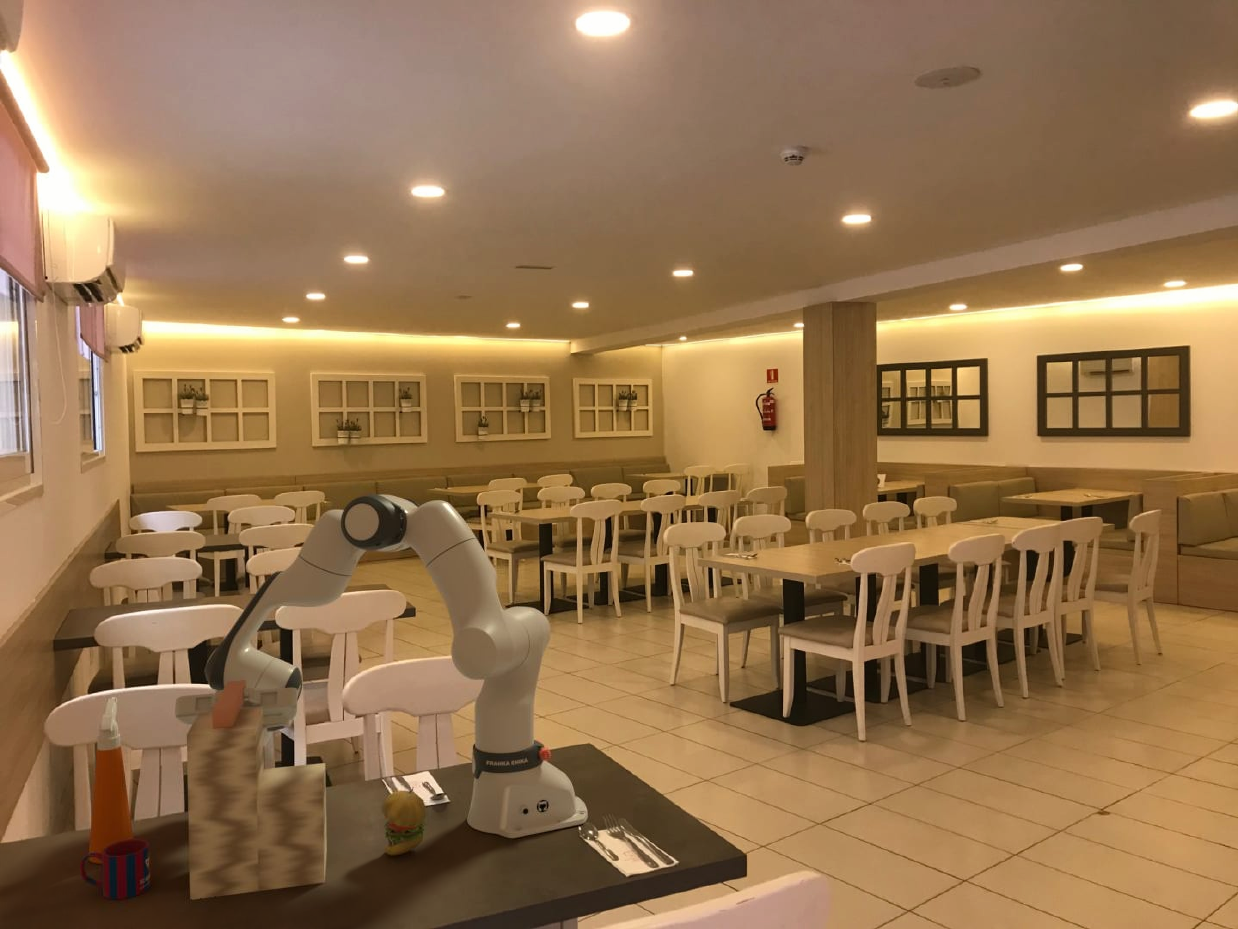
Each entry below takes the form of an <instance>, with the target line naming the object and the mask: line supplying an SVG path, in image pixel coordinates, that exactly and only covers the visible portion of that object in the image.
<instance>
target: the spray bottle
mask: <svg viewBox="0 0 1238 929" xmlns="http://www.w3.org/2000/svg"><path fill="white" fill-rule="evenodd" d="M117 704H118V699H117V697H115V696H112V697H109V698H107V699H106V704H105V709H104V710H103V715H102V719H101V723H100V725H99V729H98V735H99V736H98V737H97V740H96V742H97V749H96V761H95V773H94V785H93V798H92V807H91V808H92V809H91V810H92V811H91V821H90V822H91V823H90V834H89V847H88V848H89V849H88V854H90V853H102V851H103V850H104V849H105V848H106V847H107V846H109V845H111V844H113V843H116V842H119V841H123V840H129V839H134V835H133V826H132V821H131V820H132V819H131V812H130V804H129V798H128V790H127V782H126V774H125V768H124V767H125V766H124V759H123V750H122V744H121V741H122V740H121V734H120V733H119V725H118V723H117V721H116V716H117V711H118V706H117ZM88 861H89V862H91V863H93V864H96V865H97V864H99V865H102V860H100V859H99V858H96V857H89V858H88Z"/></svg>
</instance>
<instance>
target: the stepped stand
mask: <svg viewBox="0 0 1238 929" xmlns="http://www.w3.org/2000/svg"><path fill="white" fill-rule="evenodd" d="M264 747H265V746H263V708H256V709H243V710H240V712H239V715H238V717H237V719H236V721H235V724H234V726H233V727H223V728H213V716H212V712H206V713H199V714H198V716H197V718H196V719H195V721H194V723H193V725H191V726H190V728H189V730H188V732H187V733H186V763H187V766H186V767H187V801H188V802H187V803H188V804H187V805H188V806H187V807H188V808H187V809H188V810H187V811H188V812H187V813H188V815H187V816H188V848H189V849H188V851H189V852H188V853H189V855H188V857H189V896H190V897H189V898H190V900H191V899H192V900H199V899H200V898H201V899H207V898H208V899H209V898H214V897H215V896H216V897H222V896H230V895H231V896H233V895H238V894H246V893H253V892H254V893H255V892H260V891H269V890H279V889H284V888H294V887H299V886H300V887H301V886H307V885H309V886H310V885H316V884H323V883H325V880H326V867H327V856H328V854H327V852H328V848H327V847H328V844H327V843H328V842H327V836H328V834H327V792H326V790H327V787H326V784H327V783H326V781H327V779H326V776H327V775H326V762H322V763H313V764H312V763H311V764H304V765H303V764H300V765H292V766H281V767H272V768H271V767H270V768H265V761H264V760H265V759H264V756H265V753H264ZM216 897H215V898H216ZM201 899H200V900H201Z"/></svg>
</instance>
